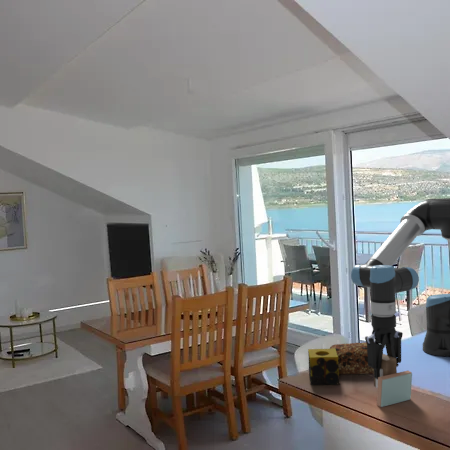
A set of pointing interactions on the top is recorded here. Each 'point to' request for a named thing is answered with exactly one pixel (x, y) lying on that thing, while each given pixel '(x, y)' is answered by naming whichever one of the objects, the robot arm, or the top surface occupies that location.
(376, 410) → the top surface
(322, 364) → the yellow spotted cube
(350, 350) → the bread
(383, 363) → the light brown rectangular block
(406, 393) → the tile
